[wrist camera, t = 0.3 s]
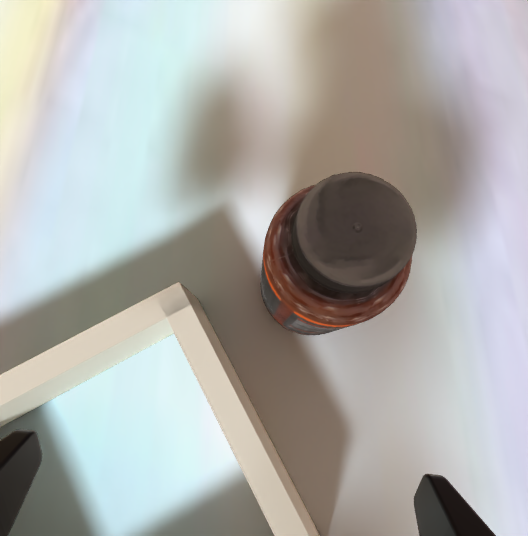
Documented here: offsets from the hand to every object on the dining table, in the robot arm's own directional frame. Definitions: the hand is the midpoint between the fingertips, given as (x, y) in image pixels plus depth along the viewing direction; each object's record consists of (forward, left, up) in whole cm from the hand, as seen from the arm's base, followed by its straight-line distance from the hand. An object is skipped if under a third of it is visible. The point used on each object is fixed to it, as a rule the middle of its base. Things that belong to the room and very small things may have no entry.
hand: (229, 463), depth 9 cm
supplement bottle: (+4, -6, -13) cm, 15 cm away
